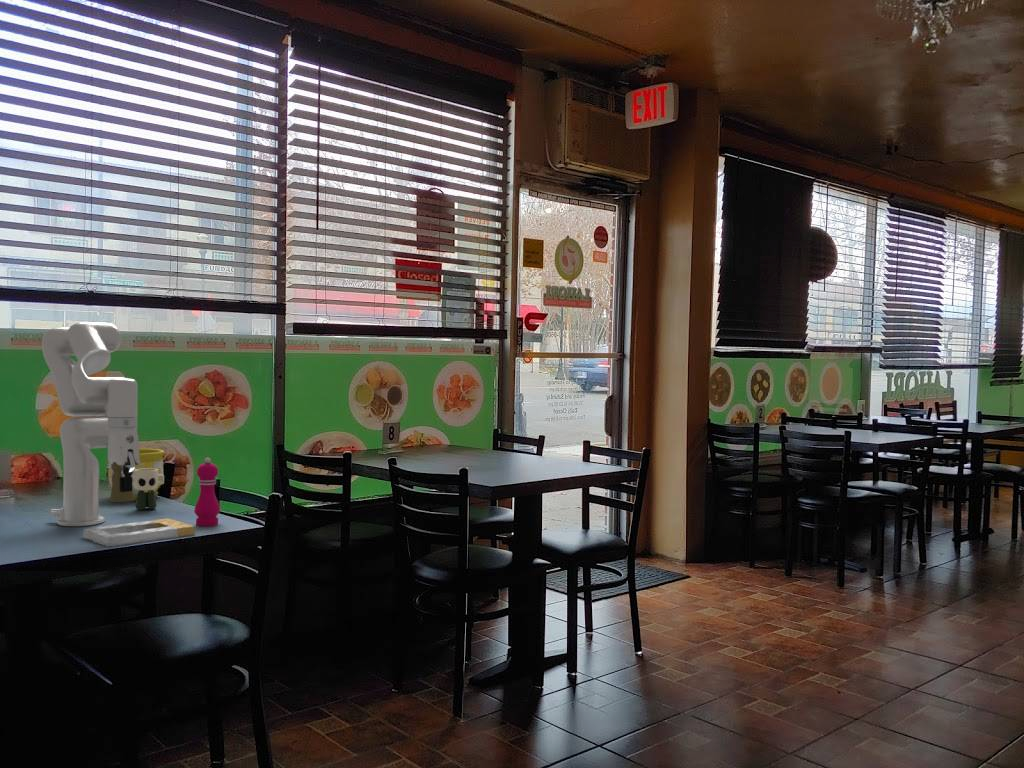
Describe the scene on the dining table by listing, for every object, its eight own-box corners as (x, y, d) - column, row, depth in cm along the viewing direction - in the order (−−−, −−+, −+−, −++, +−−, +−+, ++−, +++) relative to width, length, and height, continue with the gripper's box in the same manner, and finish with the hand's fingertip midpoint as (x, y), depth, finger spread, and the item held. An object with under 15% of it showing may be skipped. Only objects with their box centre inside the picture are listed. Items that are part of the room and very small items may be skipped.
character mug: (128, 512, 280) (128, 471, 280) (126, 508, 287) (127, 469, 286) (165, 510, 286) (165, 470, 285) (162, 506, 292) (162, 467, 291)
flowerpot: (100, 502, 299) (100, 453, 298) (117, 493, 316) (117, 448, 316) (155, 501, 301) (156, 454, 300) (169, 493, 319) (169, 448, 318)
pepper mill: (194, 522, 265) (194, 456, 265) (219, 521, 268) (219, 456, 267) (194, 527, 258) (194, 459, 258) (220, 526, 261) (220, 458, 260)
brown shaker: (137, 498, 244) (137, 458, 243) (128, 502, 238) (128, 461, 237) (115, 498, 244) (115, 458, 243) (106, 501, 237) (106, 461, 237)
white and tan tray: (107, 546, 230) (108, 537, 230) (83, 537, 241) (83, 528, 241) (194, 534, 248) (194, 526, 248) (168, 526, 259) (168, 518, 259)
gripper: (149, 424, 237) (149, 492, 238) (123, 421, 249) (122, 486, 249) (121, 426, 232) (121, 495, 232) (95, 422, 243) (95, 488, 243)
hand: (122, 489), depth 241 cm, fingers closed on brown shaker, 4 cm apart
